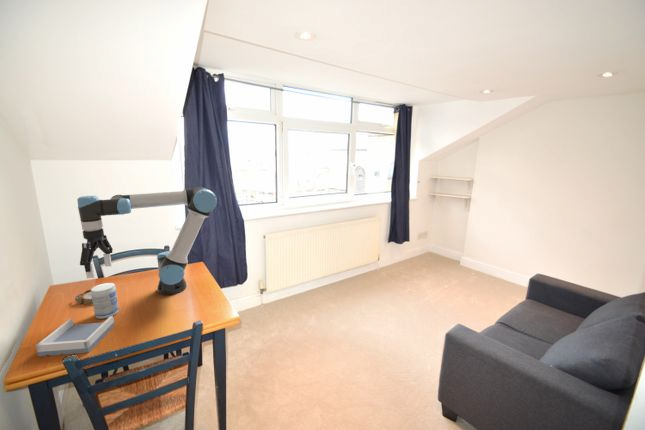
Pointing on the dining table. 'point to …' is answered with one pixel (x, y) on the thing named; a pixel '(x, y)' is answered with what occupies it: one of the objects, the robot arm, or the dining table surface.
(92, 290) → the supplement tub
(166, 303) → the dining table surface
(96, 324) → the dock
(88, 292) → the alarm clock
